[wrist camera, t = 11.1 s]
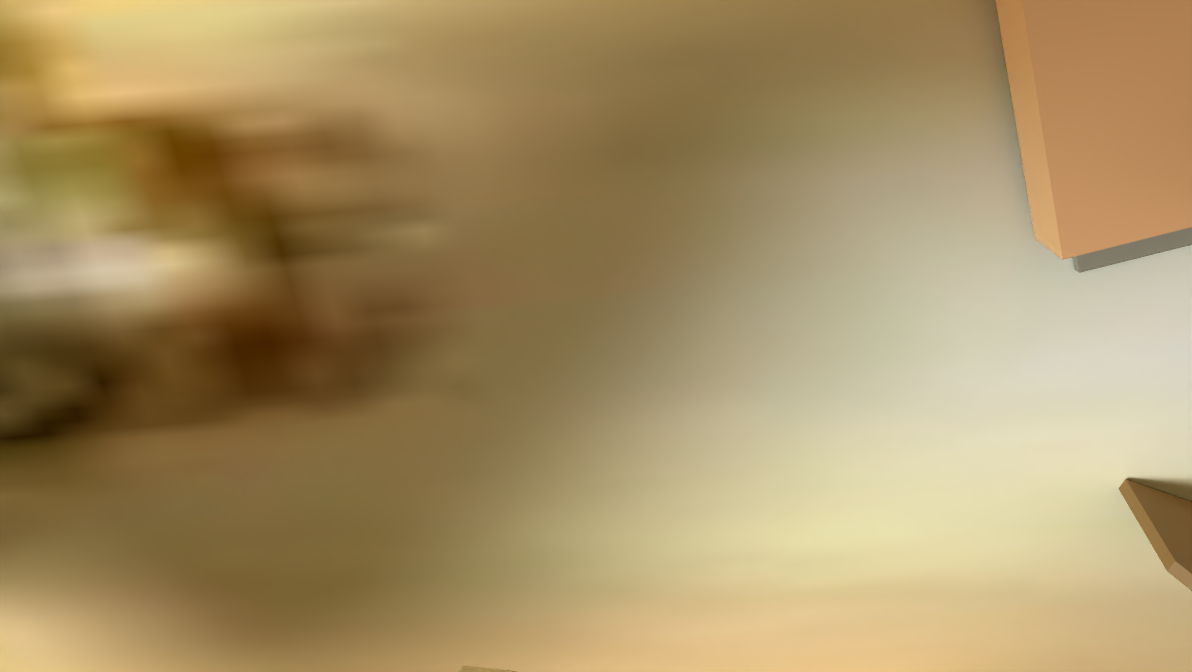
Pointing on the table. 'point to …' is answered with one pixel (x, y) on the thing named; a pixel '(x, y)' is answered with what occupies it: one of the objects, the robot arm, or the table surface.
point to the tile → (1102, 117)
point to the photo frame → (1164, 526)
